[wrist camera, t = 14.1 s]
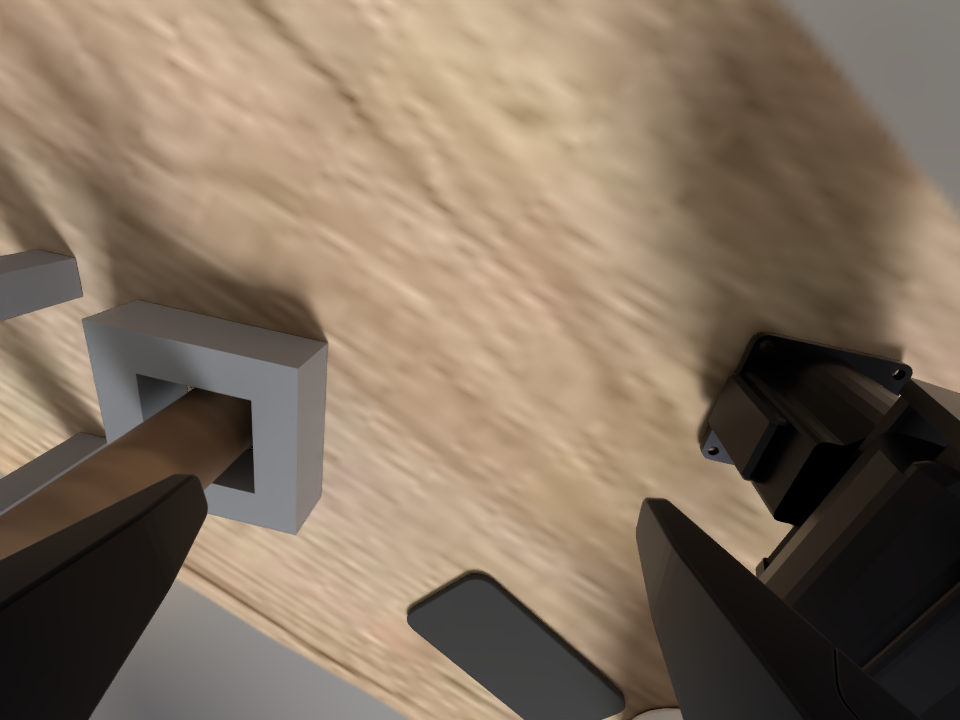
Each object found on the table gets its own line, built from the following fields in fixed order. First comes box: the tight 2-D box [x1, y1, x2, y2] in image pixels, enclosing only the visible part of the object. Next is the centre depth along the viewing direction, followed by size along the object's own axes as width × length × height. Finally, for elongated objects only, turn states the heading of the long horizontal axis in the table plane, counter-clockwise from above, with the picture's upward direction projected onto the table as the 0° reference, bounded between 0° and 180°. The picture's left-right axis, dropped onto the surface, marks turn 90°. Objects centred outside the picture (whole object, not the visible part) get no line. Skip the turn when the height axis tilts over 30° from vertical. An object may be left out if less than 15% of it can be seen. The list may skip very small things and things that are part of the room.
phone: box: [407, 573, 625, 720], centre depth 30 cm, size 7×1×15 cm
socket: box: [82, 300, 328, 535], centre depth 23 cm, size 10×10×3 cm
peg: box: [0, 388, 253, 560], centre depth 19 cm, size 4×4×13 cm
